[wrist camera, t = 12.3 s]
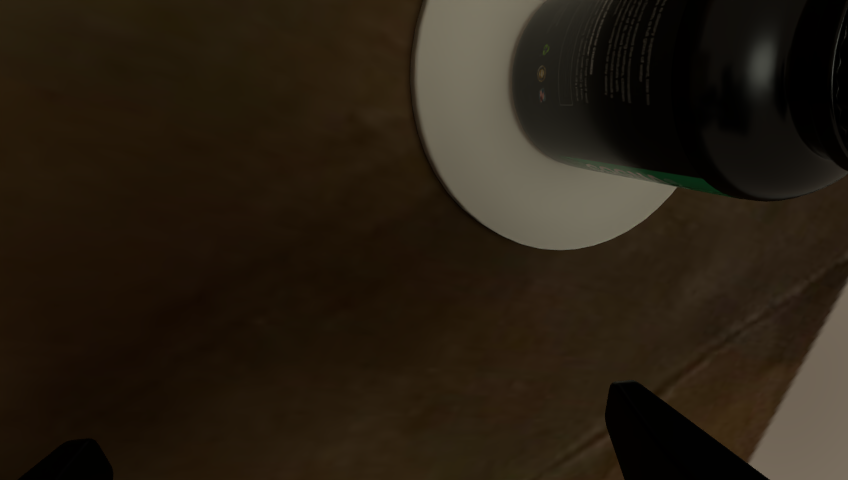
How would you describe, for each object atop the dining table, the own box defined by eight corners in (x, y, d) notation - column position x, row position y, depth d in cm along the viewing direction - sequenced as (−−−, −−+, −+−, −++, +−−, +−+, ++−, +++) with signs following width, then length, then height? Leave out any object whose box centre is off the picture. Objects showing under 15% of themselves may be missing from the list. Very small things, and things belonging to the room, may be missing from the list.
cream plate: (558, 302, 23) (571, 310, 22) (331, 82, 17) (335, 80, 16) (750, 79, 23) (770, 78, 22) (590, -212, 17) (608, -229, 17)
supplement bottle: (566, 200, 20) (933, 310, 9) (470, 65, 18) (833, -2, 7) (678, 89, 21) (1156, 71, 10) (603, -59, 18) (1149, -316, 7)
